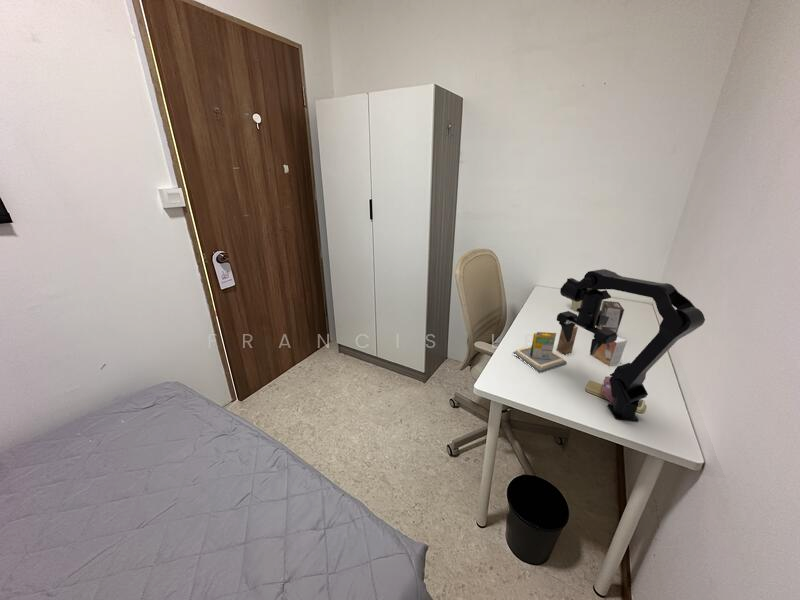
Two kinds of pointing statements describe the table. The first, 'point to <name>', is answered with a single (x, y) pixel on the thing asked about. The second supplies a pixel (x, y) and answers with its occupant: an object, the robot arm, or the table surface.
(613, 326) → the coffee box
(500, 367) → the table surface
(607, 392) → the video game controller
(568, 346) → the walnut column
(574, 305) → the mug
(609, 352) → the small box
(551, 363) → the baseplate
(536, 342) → the crayon box
